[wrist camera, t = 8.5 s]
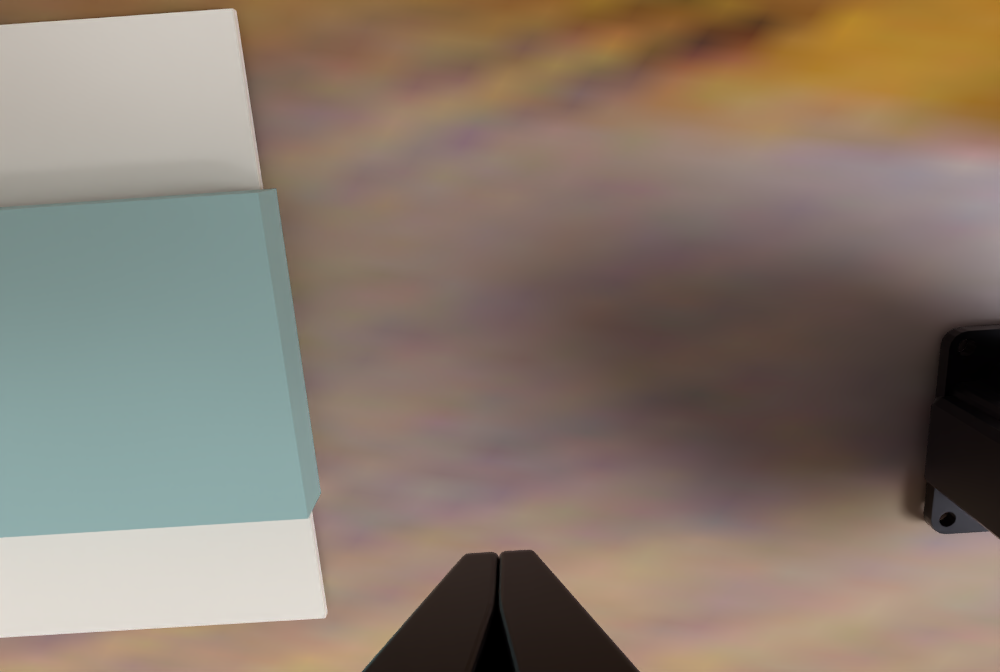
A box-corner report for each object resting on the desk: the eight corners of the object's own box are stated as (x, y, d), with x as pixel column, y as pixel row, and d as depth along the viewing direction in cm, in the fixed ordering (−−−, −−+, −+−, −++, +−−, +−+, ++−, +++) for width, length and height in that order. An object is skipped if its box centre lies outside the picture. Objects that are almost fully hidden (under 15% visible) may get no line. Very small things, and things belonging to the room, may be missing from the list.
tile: (258, 192, 18) (-221, 225, 18) (307, 518, 20) (-115, 544, 20) (278, 187, 19) (-161, 217, 19) (322, 489, 22) (-69, 514, 22)
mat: (236, 10, 18) (232, 8, 18) (327, 612, 23) (325, 617, 23) (-300, 49, 19) (-312, 47, 18) (-100, 637, 23) (-107, 644, 23)
